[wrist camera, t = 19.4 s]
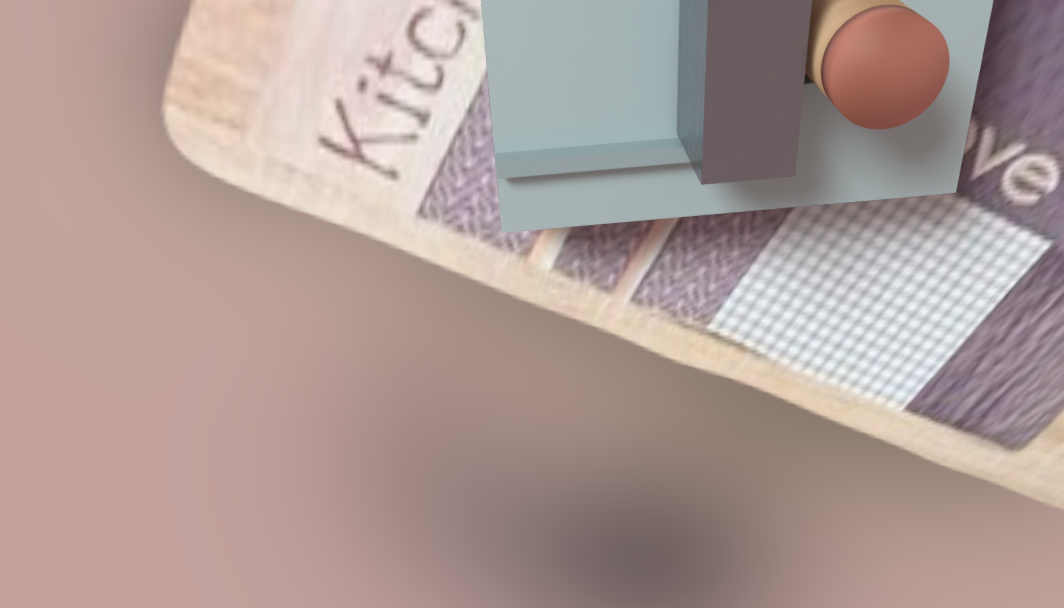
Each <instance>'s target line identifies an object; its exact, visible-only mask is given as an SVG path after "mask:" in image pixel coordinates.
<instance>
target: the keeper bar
mask: <svg viewBox="0 0 1064 608" xmlns="http://www.w3.org/2000/svg"><path fill="white" fill-rule="evenodd" d="M811 6H812V0H680V2H679V48H678V94H677V135H678V137H679V139H680V142H681V144H682V146H683V148H684V150H685V152H686V154H687V156H688V158H689V160H690V162H691V165H692V167H693V169H694V171H695V173H696V175H697V177H698V179H699V181H700V183H701V185H705V184H717V183H728V182H739V181H751V180H762V179H774V178H785V177H795V174H796V164H797V153H798V143H799V132H800V122H801V111H802V101H803V90H804V80H805V69H806V58H807V48H808V37H809V27H810V16H811Z"/></svg>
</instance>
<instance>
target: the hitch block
mask: <svg viewBox="0 0 1064 608" xmlns="http://www.w3.org/2000/svg"><path fill="white" fill-rule="evenodd" d="M900 1H901V2H903V3H904V4H905V5H907V6H908V7H910V8H911V9H913V10H914V11H915V12H917V13H918V14H920V15H921V16H922V17H924V18H925V19H927V20H928V21H930V22H931V23H932V24H934V25H935V26H936V27H937V28H938V29H939V30H940V32H941V33H942V34H943V36H944V38H945V40H946V43H947V46H948V50H949V60H950V62H949V70H948V75H947V78H946V81H945V84H944V86H943V88H942V90H941V92H940V93H939V95H938V96H937V98H936V99H935V100H934V102H933V103H932V104H931V105H930V106H929V107H928V108H927V109H926V110H925V111H924V112H923V113H921V114H920V115H919V116H917V117H916V118H914V119H913V120H911V121H909V122H907V123H905V124H902V125H900V126H897V127H893V128H889V129H868V128H864V127H860V126H858V125H856V124H854V123H852V122H850V121H849V120H848V119H847V118H845V117H844V116H843V114H842V113H841V112H840V111H839V110H838V109H837V108H836V107H835V106H834V105H833V103H832V102H831V101H830V100H829V99H828V98H827V97H826V96H825V95H824V93H823V92H822V91H821V90H820V89H819V88H818V87H817V86H816V85H815V84H814V82H813V81H812V80H811V79H810V78H809V77H808V76H807V75H806V74H805V80H804V90H803V101H802V111H801V122H800V132H799V143H798V153H797V164H796V174H795V177H785V178H774V179H762V180H751V181H739V182H728V183H717V184H705V185H701V183H700V181H699V179H698V177H697V175H696V173H695V171H694V169H693V167H692V165H691V162H690V160H689V158H688V156H687V154H686V152H685V150H684V148H683V146H682V144H681V142H680V139H679V137H678V135H677V94H678V48H679V2H680V0H481V6H482V17H483V29H484V40H485V51H486V63H487V74H488V86H489V97H490V108H491V120H492V131H493V142H494V154H495V165H496V176H497V187H498V197H499V207H500V218H501V228H502V233H506V232H517V231H528V230H540V229H551V228H562V227H574V226H585V225H596V224H608V223H619V222H631V221H642V220H653V219H665V218H676V217H687V216H699V215H710V214H721V213H733V212H744V211H755V210H767V209H778V208H790V207H801V206H812V205H824V204H835V203H846V202H858V201H869V200H880V199H892V198H903V197H915V196H926V195H937V194H949V193H956V189H957V184H958V179H959V174H960V169H961V164H962V159H963V154H964V148H965V143H966V138H967V133H968V128H969V123H970V118H971V113H972V107H973V102H974V97H975V92H976V87H977V82H978V77H979V72H980V66H981V61H982V56H983V51H984V46H985V41H986V36H987V31H988V25H989V20H990V15H991V10H992V5H993V0H900Z"/></svg>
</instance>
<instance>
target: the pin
mask: <svg viewBox="0 0 1064 608" xmlns="http://www.w3.org/2000/svg"><path fill="white" fill-rule="evenodd" d="M949 62H950V60H949V50H948V46H947V43H946V40H945V38H944V36H943V34H942V33H941V32H940V30H939V29H938V28H937V27H936V26H935V25H934V24H932V23H931V22H930V21H928V20H927V19H925V18H924V17H922V16H921V15H920V14H918V13H917V12H915V11H914V10H913V9H911V8H910V7H908V6H907V5H905V4H904V3H903V2H901V1H900V0H812V6H811V16H810V27H809V37H808V48H807V58H806V69H805V74H806V75H807V76H808V77H809V78H810V79H811V80H812V81H813V82H814V84H815V85H816V86H817V87H818V88H819V89H820V90H821V91H822V92H823V93H824V95H825V96H826V97H827V98H828V99H829V100H830V101H831V102H832V103H833V105H834V106H835V107H836V108H837V109H838V110H839V111H840V112H841V113H842V114H843V116H844V117H845V118H847V119H848V120H849V121H850V122H852V123H854V124H856V125H858V126H860V127H864V128H868V129H889V128H893V127H897V126H900V125H902V124H905V123H907V122H909V121H911V120H913V119H914V118H916V117H917V116H919V115H920V114H921V113H923V112H924V111H925V110H926V109H927V108H928V107H929V106H930V105H931V104H932V103H933V102H934V100H935V99H936V98H937V96H938V95H939V93H940V92H941V90H942V88H943V86H944V84H945V81H946V78H947V75H948V70H949Z"/></svg>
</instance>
